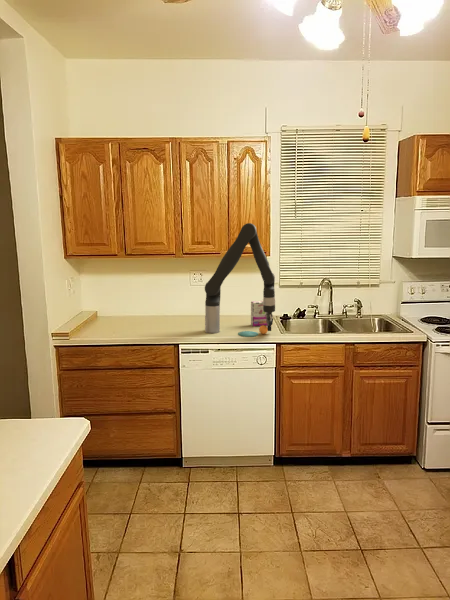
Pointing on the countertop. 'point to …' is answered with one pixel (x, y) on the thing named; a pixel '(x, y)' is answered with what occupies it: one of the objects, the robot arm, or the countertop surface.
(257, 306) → the candy bar box
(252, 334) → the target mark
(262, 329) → the ball
